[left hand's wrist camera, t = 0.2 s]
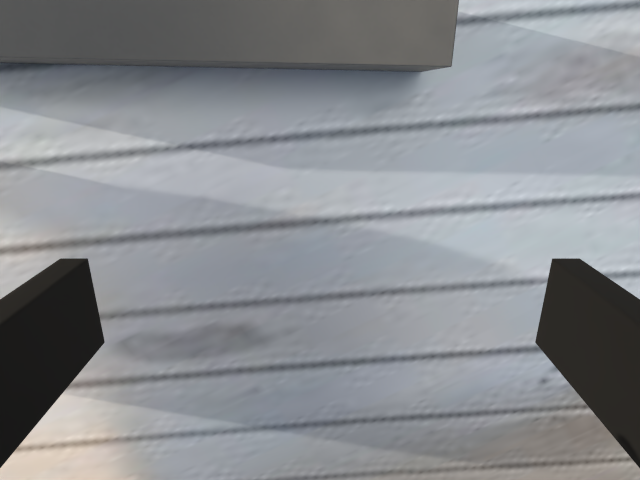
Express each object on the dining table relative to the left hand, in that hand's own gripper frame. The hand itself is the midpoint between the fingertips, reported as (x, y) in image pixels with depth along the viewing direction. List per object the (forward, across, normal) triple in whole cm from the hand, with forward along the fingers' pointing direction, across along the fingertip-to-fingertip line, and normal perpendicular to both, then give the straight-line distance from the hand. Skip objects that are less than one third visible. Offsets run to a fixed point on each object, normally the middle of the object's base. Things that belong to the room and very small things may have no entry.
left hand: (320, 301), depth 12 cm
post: (+27, +18, -10) cm, 34 cm away
